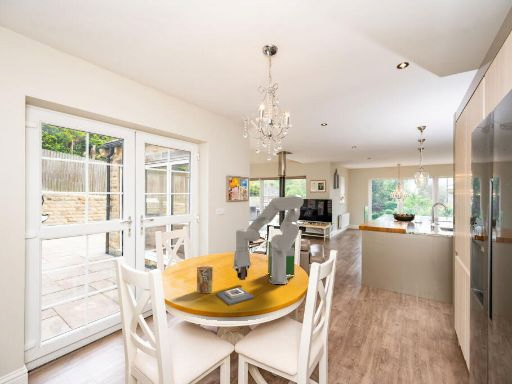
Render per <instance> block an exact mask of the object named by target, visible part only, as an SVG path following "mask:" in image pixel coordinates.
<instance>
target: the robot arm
mask: <svg viewBox="0 0 512 384" xmlns="http://www.w3.org/2000/svg"><path fill="white" fill-rule="evenodd" d="M304 202H305V201H304V198H303V197H302V196H301V195H298V194H289V195H288V196H283V197H277V196H276V197H273V198H272V199H271V201H269V203H268V204H267V205H266V207H265V208H264V209H263V211H262V212H261V213H260V214H259V215H258V216H257V217H256V218H255V219H254V220H253V221H252V222H251V224H250V225H249V226H248V228H247V229H237V230H236V232H235V248H236V249H235V251H234V254H233V266H232V269H233V270H234V271H236V273H237V275H236V276H237V279H241V272H240V269H241V267H245V278H247V277H248V271H249V268H250V267H251V266H252V264H253V263H252V262H251V258H250V251H249V249H250V246H249V245H248V244H249V243H248V242H257V241H259V240H260V239H261V232H260V230H261V229H262V228H263V227H265V226H266V225H267V224H270V223H271V222H273V220H274V219H275V218H276V216H277V215H278V213H279V212H280V211H281V212H282V211H287V212H286V215H285V217H284V218H283V221H282V222H281V224H280V227H279V230H280V232H281V233H282V234H278V233H277V234H274V235H273V236H272V238H271V241H270V242H271V247H272V277H271V278H270V277H269V279H268V282H269V283H270V284H271V283H272V284H271V285H274V284H285V283H287V282H288V283H289V280H288V279H289V278H292V277H291V275H290V274H289V275H287V274H286V252H287V251H288V250H289V249H290V248H291V247H292V245H293V243H295V241H296V239H297V238H298V235H299V231H300V227H299V226H298V224H297V223H298V220H299V218H300V215H301V210H300V208H301V207H302V206H303V204H304ZM288 283H287V284H288ZM285 285H286V284H285Z"/></svg>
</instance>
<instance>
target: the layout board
mask: <svg viewBox="0 0 512 384" xmlns="http://www.w3.org/2000/svg"><path fill="white" fill-rule="evenodd" d="M215 296H216V297H218V298H219V299H221V300H222V301H223V302H225V303H226V304H227V305H228V306H232V305H235V304H239V303H242V302H245V301H249V300H254V299H255V296H254V295H253V294H251V293H249V292H248V291H247V290H245V289H243V288H241V287H240V286H239V287H235V288H232V289H230V288H229V289H227V290H223V291H222V290H221V291H218V292H216V293H215Z"/></svg>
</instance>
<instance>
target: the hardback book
mask: <svg viewBox="0 0 512 384" xmlns="http://www.w3.org/2000/svg"><path fill="white" fill-rule="evenodd" d="M295 244H296V243H295V242H294V243H293V245H292V247H291V248H290V249H289V250H288V251H287V252H286V274H287V275H289V274H290V275H294V276H295V255H296V254H295V253H296V251H295V250H296V247H295V246H296V245H295ZM267 252H268V258H267V259H268V261H267V263H268V265H267V267H268V268H267V269H268V270H267V274H268V273H269V274H270V275H269V277H270V276H272V247H271V241H268V251H267Z"/></svg>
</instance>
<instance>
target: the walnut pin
mask: <svg viewBox="0 0 512 384" xmlns="http://www.w3.org/2000/svg"><path fill="white" fill-rule="evenodd" d="M240 272H241V279H239V278H238V279H239V281H245V280H246V277H245V267H241V269H240Z"/></svg>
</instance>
